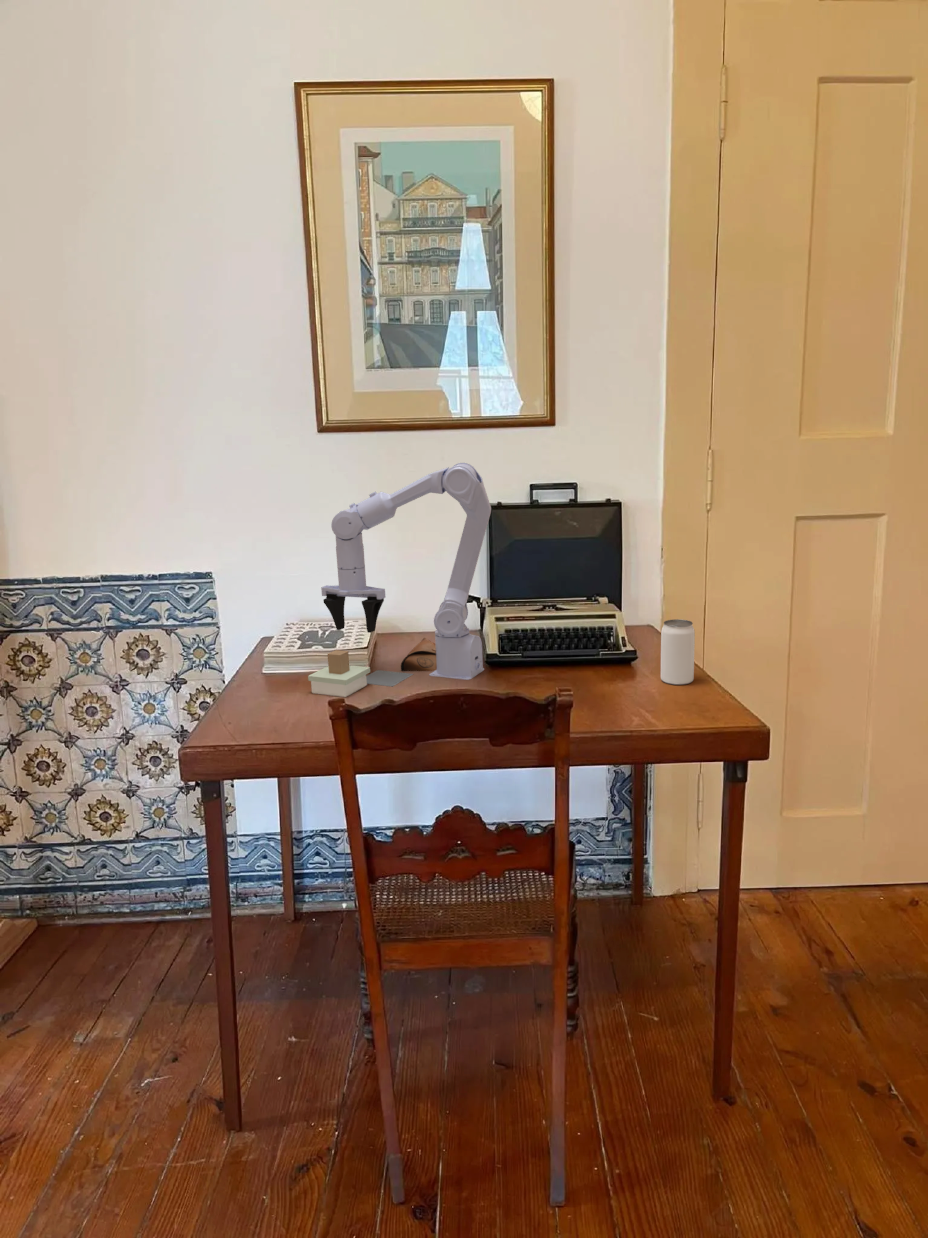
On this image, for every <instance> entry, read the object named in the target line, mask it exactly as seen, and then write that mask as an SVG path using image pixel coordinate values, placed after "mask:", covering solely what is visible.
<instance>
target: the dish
mask: <svg viewBox="0 0 928 1238" xmlns="http://www.w3.org/2000/svg"><path fill="white" fill-rule="evenodd" d="M366 676H367V674H366V675H364V676H362V677H360V678H359V679H357V680H355V681H353V682H351V683H349V684H347V685H341V684H333V683H324V682H316V681H310V686H311V694H314V695H315V694H317V695H322V696H331V697H339V698H347V697H349V696H351V695H353V694H354V693H356V692H358V691H359V690H361V689H363V688H365V687H367V686H368V684H367V679H366Z"/></svg>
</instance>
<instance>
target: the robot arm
mask: <svg viewBox="0 0 928 1238" xmlns="http://www.w3.org/2000/svg"><path fill="white" fill-rule="evenodd" d="M445 492H446V493H447V495H449V496H450V497H452V498H453V499H454V500H455V501H457V502H458V503H459V505H460V506H461V509H463V511H464V512H465V514H466V518H465V521H464V525H463V529H462V532H461V536H460V541H459V545H458V547H457V551H456V555H455V560H454V563H453V567H452V570H451V574H450V577H449V581H448V585H447V589H446V593H445V595H444V598H443V601H442V602H441V603H440V605H439V607H438V610H437V612H436V613H435V614H434V617H433V625H434V627H435V629H436V630H435V631H434V636H435V637H434V639H435V641H434V643H435V644H436V663H437V670H435V671H431V673H429V677H438V678H447V679H456V680H465V681H466V680H467V681H470V680H471V679H473V678H475V677H476V676H477V675H479V674H480V673H482V672H483V671H484V670H485V668H484V666H483V665H484V663H483V643H482V638H481V637H480V636H479V635H476V634H472V633H470V629H469V627H468V626H467V625H466V624H465V622H466V620H467V619H468V616H469V610H468V603H467V602H468V599H469V596H470V595H469V594H470V590H471V586H472V582H473V579H474V575H475V572H476V567H477V565H478V564H477V563H478V560H479V557H480V552H481V550H482V545H483V543H484V539H485V535H486V530H487V528H488V523H489V520H490V516H491V513H492V506H491V503H490V500H489V496H488V494H487V491H486V488H485V484H484V481H483V478H482V476H481V475H480V473H479V472H478V471H477V469H476V468H475V467H474V466H473V465H471V464H470V463H467V462H457V463H456V464H454V465H453V466H451V467H450V466H448V467H445V468H441V469H439V470H435V471H433V472H431V473H428V474H426V475H424V476H422V477H421V478H419V479H416V480H415V481H413V482H411V483H409V484H407V485H405V486H404V487H402V488H400V489H398V490H396V491H394V492H393V493H388V492H384V491H380V492H376V491H373V492H372V493H371V492H370V493H369V494H368V496H369V497H368V498H366V499H364V500H361V501H360V502H357V503H354V502H353V503H351V504H349V508H347V509H343V510H341V511H339V512H338V513H336V514H335V515H334V516H333V518H332V521H331V530H332V533H333V534H334V535H335V552H336V553H335V554H336V555H335V556H336V567H337V579H338V584H337V585H329V584H328V585H324V586H322V587H321V588H320V589H321V597H325V598H324V599H323V603H324V605H325V606H326V608H327V610H328V611H329V613H330V615H331V618H332V620H333V623H334V625H335V629H336V630H337V631H341V630H344V629H345V603H346V597H347V598H348V597H349V598H364V600H361V605H362V607H363V612H364V616H365V626H366V631H367V632H366V633H368V634H369V633H370V634H371V633H373V632H375V631H376V625H377V621H378V616H379V613H380V610H381V609H382V606H383V603H384V601H385V598H386V589H385V588H381V587H375V586H367V580H366V579H367V576H366V564H365V563H366V562H365V561H366V560H365V551H364V550H365V547H364V543H363V531H364V530H366V531H368V530H370V529H372V528H375V527H376V526H378V525H380V524H382V523H384V522H386V521H388V520H390V519H392V518H395V514H396V511H397V509H398V508H400V507H402V506H404V505H407V504H408V503H410V502H413V501H415V500H417V499H419V498H422V497H423V496H426V495H428V494H431V493H432V494H437V495H438V494H439V495H443V494H445Z"/></svg>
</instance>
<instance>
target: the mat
mask: <svg viewBox="0 0 928 1238" xmlns="http://www.w3.org/2000/svg"><path fill="white" fill-rule="evenodd" d="M413 675H414V673H408V672H401V671H399V672H398V671H390V670H381V669H377V670H375V671H373V672H370V674H369V673H368V674H366V679H367V685H374V686H385V687H393V688H394V687H395V686H396V685H398V684H399V683H402V682H404V681H405V680H407V679H409V678H410V677H411V676H413Z"/></svg>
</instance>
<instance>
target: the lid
mask: <svg viewBox="0 0 928 1238" xmlns="http://www.w3.org/2000/svg"><path fill="white" fill-rule="evenodd" d="M327 665H328V666H327ZM327 665H326V666H325V667H323V668H321V669H319V670H318V671H315V672H313V673H311V674H309V675H307V681H309V682H311V681H316V682H324V683H333V684H341V685H347V684H349V683H351V682H353V681H355V680H357V679H359V678H360V677H362V676H364V675H366V676H367V675H369V673H370V674H371V667H370V666H368V667H367V666H359V665H350V656H349V651H348V650H339V649H338V650H337V649H335V650H332V651H331V652H329V653H327Z"/></svg>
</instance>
